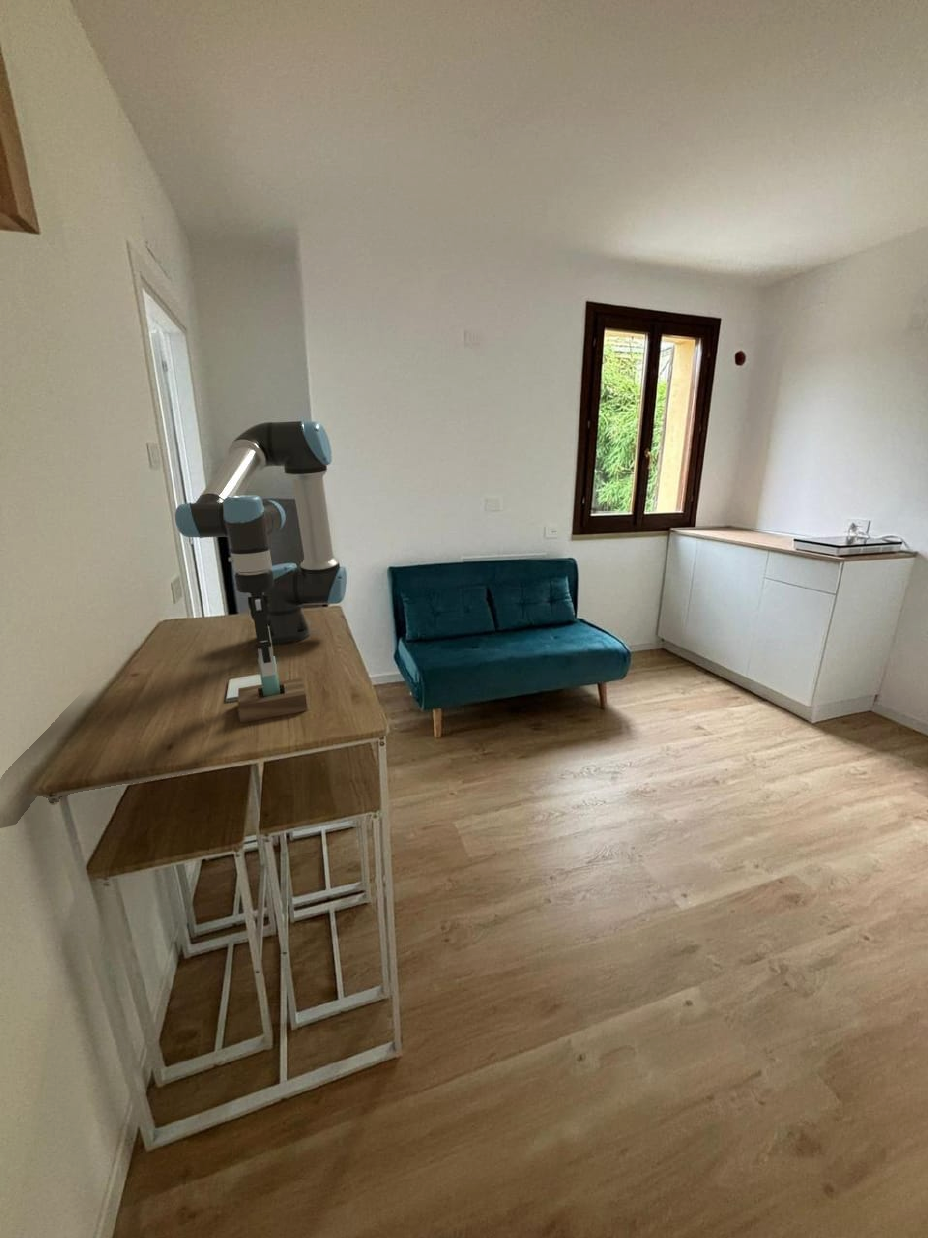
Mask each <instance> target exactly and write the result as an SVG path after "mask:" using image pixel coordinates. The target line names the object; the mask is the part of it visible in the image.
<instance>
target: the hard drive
mask: <svg viewBox="0 0 928 1238" xmlns="http://www.w3.org/2000/svg"><path fill="white" fill-rule="evenodd" d="M260 684H262V683H261V677H260V674H254V675H248V676H247V675H246V676H242V677H236V678H235V677H234V678H231V679H229V680H228V687H227V693H226V697H225V698H226V699H225V702H226V703H232V702H233V703H234V702H238V688H243V687H249V686H255V685H260Z"/></svg>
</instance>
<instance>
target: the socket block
mask: <svg viewBox="0 0 928 1238" xmlns="http://www.w3.org/2000/svg"><path fill="white" fill-rule="evenodd" d="M278 681H279V688H280V695H274V696H269V697H264V696H263V690H262V684H260V685H255V686H249V687H243V688H238V701H237V709H238V710H237V711H238V717H239V721H240V724H244V723H248V722H255V721H259V720H262V719H269V718H273V717H279V716H285V715H289V714H295V713H300V712H306V711H308V701H307V693H306V691H305V690H306V689H305V686H304V683H303V678H302V677H297V678H290V679H285V680H278Z"/></svg>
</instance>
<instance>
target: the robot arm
mask: <svg viewBox="0 0 928 1238" xmlns="http://www.w3.org/2000/svg"><path fill="white" fill-rule="evenodd" d="M331 447H332V446H331V444H330V440H329V436H328V433H327V432H326V429H325V428H324V426H323V425H322V424H321V423H319V422H318V421H312V420H310V421H309V420H296V421H276V422H275V421H274V422H273V421H269V422H268V421H266V422H262V423H261V422H260V423H258V424H255V425H253V426H251V427H250V428H247V429H246V430H244V431H243V432H242V433H240V435H238V436H237V437H236V438H235V439H234V440H233V441H232V443H230V445H229V447H228V451H227V452H228V453H227V455H228V456H227V457H226V459H225V460H224V462H223V464H221V466H220V467H219V468H218V470H217V472H216V473H215V474H214V475H213V478H212V479H211V480H210V481H209V483H208V484H207V485H206V487H205V489H204V490H203V492H202V493H201V494H200V496H199V498H197V500H196V502H187V503H182V504H179V505H178V506H177V507H176V509H175V513H174V522H175V525H176V527H177V530H178V532H179V533H180V534H181V535H182V536H183V537H186V538H199V539H203V538H220V537H221V538H223V537H226V538H228V539H227V540H228V543H229V550H230V551H229V552H230V555H231V556H230V557H228V562H230V563H231V562H233V563H232V567H233V568H232V569H233V571H234V572H235V574H234V580H235V586H236V590H237V591H238V592H239V593H243V594H244V593H245V594H246V593H248V594H250V595H251V596H248V597H247V604H248V608H249V609H250V615H251V619H252V620H253V623H254V629H255V635H256V642H257V644H256V645H253V647H254V650H257V651H258V658H260V664H261V670H262V676H263V677H266V676H272V675H276V671H275V664H274V658H273V656H274V649H273V645H281V644H282V645H283V644H290V643H294V642H298V641H301V640H305V639H306V638H308V637H309V636H310V635H311V628H310V625H309V623H308V621H307V618H306V617H305V615H304V613H303V609H302V606H311V605H312V606H313V605H314V606H315V605H316V606H318V605H321V606H322V605H327V606H330V605H336V604H340V603H342V602H343V600H344V598H345V595H346V591H347V586H348V585H347V583H348V574H347V569H346V566H344V565H343V566H342V565H341V566H340V560H339V559H338V558H337V557H335V556H334V552H333V550H334V549H333V544H332V538H331V531H330V521H329V516H328V515H329V514H328V508H327V499H326V492H325V484H324V475H325V474H326V473H327V472H328V467H327V466H328V465H331V463H332V448H331ZM267 467H283V468H284V473H285V475H286V476H287V477H288V478H290V479H291V483H292V489H293V495H294V499H295V500H294V501H295V508H296V513H297V514H296V515H297V519H298V526H299V532H300V538H301V544H302V551H303V557H304V559H303V561H301V562H300V567H298V566H297V564H296V563H295V562H286V563H280V564H275V565H273V563H272V557H271V551H270V546H269V539H268V536H270V535H274V534H276V533H278V532H279V531H280V530H282V528H283V527H284V526H285V523H286V521H287V519H286V518H287V517H286V516H287V515H286V512H285V509H284V508H283V506H282V505H281V504H280V503H278V502H277V501H275V500H271V499H262V497H261V496H259V495H256V494H255V495H254V494H249V495H248V494H245V492H246V490H247V489H248V487H249V486H250V484H251V483H252V481H253V479H254V477H255V476H256V474H258V473H261V471H263V470H264V469H265V468H267Z"/></svg>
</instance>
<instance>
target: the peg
mask: <svg viewBox="0 0 928 1238" xmlns="http://www.w3.org/2000/svg"><path fill="white" fill-rule="evenodd" d="M273 658H274V664H275V671H276V675H272V676H266V677H263V676H262V670H261V664H260V658H259V657H258V658H257V664H258V669H259V675H260V677H261V683H262V690H263V696H264V697H269V696H274V695H280V688H279V681H280V680H279V676H278V670H277V669H278V667H277V661H276V656H275V655H273Z"/></svg>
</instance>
